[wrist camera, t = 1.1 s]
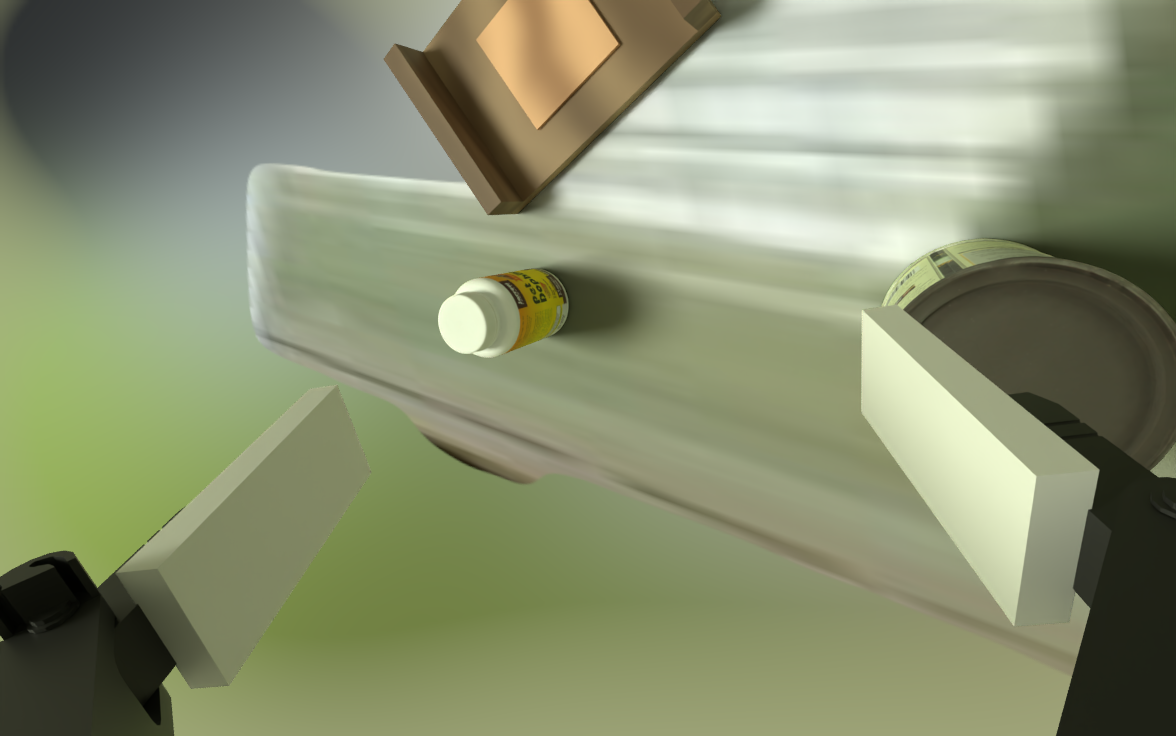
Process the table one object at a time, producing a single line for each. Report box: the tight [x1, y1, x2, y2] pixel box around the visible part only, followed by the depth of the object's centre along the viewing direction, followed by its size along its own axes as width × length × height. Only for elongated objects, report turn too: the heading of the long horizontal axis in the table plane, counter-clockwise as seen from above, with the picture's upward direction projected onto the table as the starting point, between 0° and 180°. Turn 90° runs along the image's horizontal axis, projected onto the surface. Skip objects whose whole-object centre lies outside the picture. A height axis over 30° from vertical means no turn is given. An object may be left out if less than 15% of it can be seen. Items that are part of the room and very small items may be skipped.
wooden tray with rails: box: [384, 0, 721, 215], centre depth 41 cm, size 20×14×4 cm
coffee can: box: [881, 238, 1176, 471], centre depth 30 cm, size 10×10×14 cm
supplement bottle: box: [438, 269, 569, 358], centre depth 44 cm, size 6×6×10 cm
